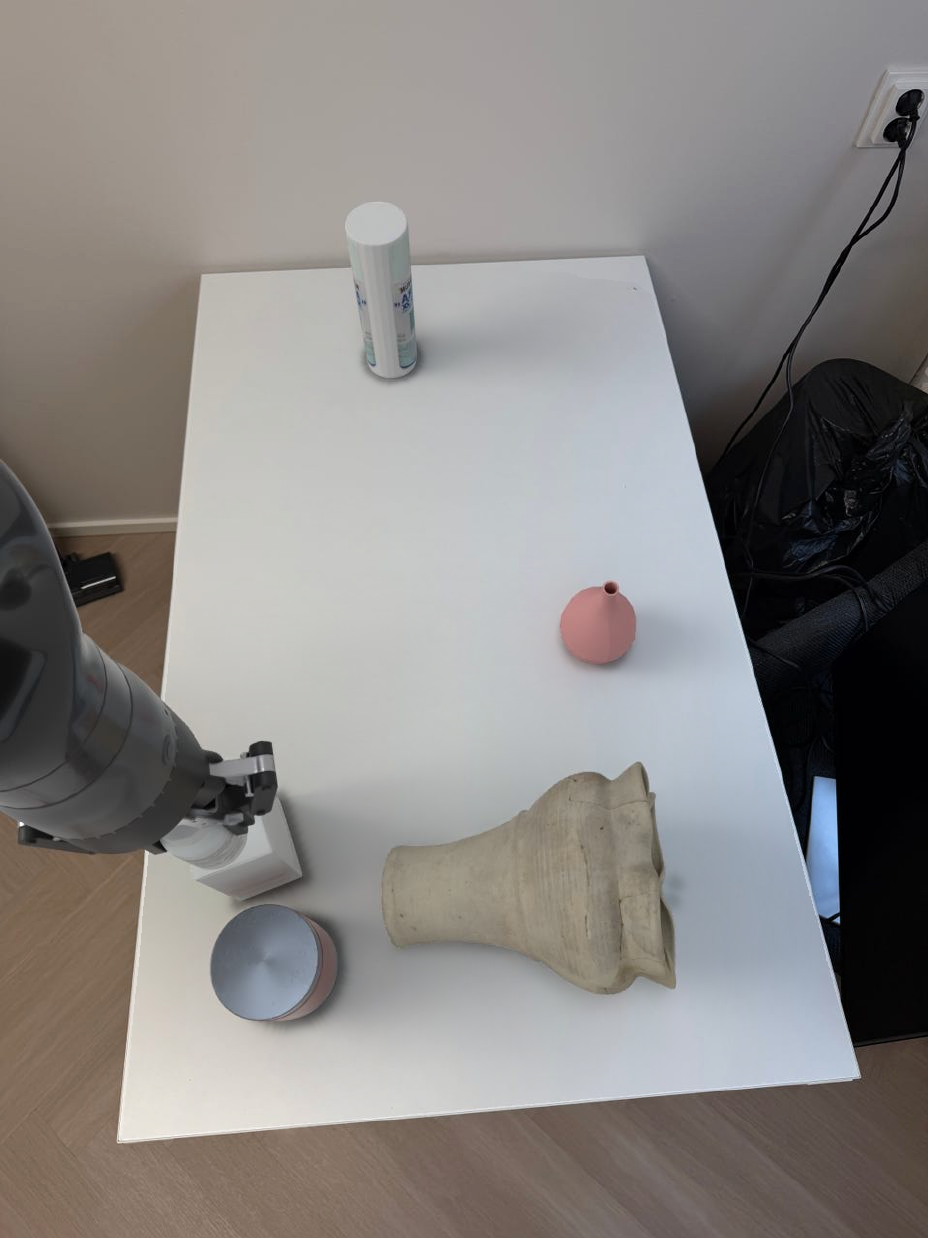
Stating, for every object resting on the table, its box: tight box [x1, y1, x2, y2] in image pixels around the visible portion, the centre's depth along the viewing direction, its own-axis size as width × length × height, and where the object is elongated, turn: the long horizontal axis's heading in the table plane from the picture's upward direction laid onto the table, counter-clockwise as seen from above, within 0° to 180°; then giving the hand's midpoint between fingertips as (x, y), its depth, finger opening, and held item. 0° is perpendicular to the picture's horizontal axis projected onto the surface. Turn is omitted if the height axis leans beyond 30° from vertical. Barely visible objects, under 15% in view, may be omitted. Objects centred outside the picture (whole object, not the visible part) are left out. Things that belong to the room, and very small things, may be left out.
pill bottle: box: [160, 824, 248, 870], centre depth 53 cm, size 4×4×8 cm
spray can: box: [344, 200, 418, 379], centre depth 95 cm, size 6×6×20 cm
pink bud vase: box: [559, 580, 637, 665], centre depth 83 cm, size 8×8×12 cm
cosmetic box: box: [188, 757, 303, 902], centre depth 72 cm, size 8×7×16 cm
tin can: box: [209, 903, 339, 1022], centre depth 70 cm, size 8×8×11 cm
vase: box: [380, 761, 677, 996], centre depth 71 cm, size 22×22×28 cm
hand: (200, 828), depth 53 cm, fingers closed on pill bottle, 4 cm apart
